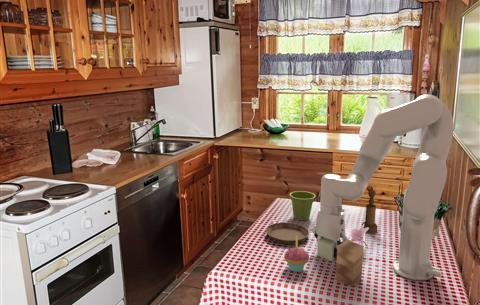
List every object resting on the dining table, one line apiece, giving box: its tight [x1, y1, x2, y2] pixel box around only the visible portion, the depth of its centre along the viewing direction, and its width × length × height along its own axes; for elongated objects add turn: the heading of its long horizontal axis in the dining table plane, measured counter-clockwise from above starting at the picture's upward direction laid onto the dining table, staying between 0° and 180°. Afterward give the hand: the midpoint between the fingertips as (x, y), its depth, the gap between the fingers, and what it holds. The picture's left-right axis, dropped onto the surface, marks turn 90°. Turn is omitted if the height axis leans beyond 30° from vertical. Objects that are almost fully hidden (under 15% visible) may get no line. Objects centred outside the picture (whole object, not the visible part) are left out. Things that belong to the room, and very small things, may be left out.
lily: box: [349, 224, 369, 249], centre depth 149 cm, size 12×12×10 cm
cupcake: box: [283, 236, 310, 273], centre depth 134 cm, size 9×8×12 cm
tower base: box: [335, 262, 363, 287], centre depth 128 cm, size 6×6×6 cm
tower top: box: [336, 239, 365, 269], centre depth 127 cm, size 6×6×6 cm
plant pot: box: [289, 190, 316, 221], centre depth 180 cm, size 12×12×11 cm
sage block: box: [316, 237, 336, 261], centre depth 144 cm, size 6×6×6 cm
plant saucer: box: [265, 222, 310, 245], centre depth 161 cm, size 18×18×3 cm
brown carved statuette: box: [361, 189, 379, 234], centre depth 165 cm, size 7×6×18 cm
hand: (328, 253), depth 145 cm, fingers closed on sage block, 6 cm apart
